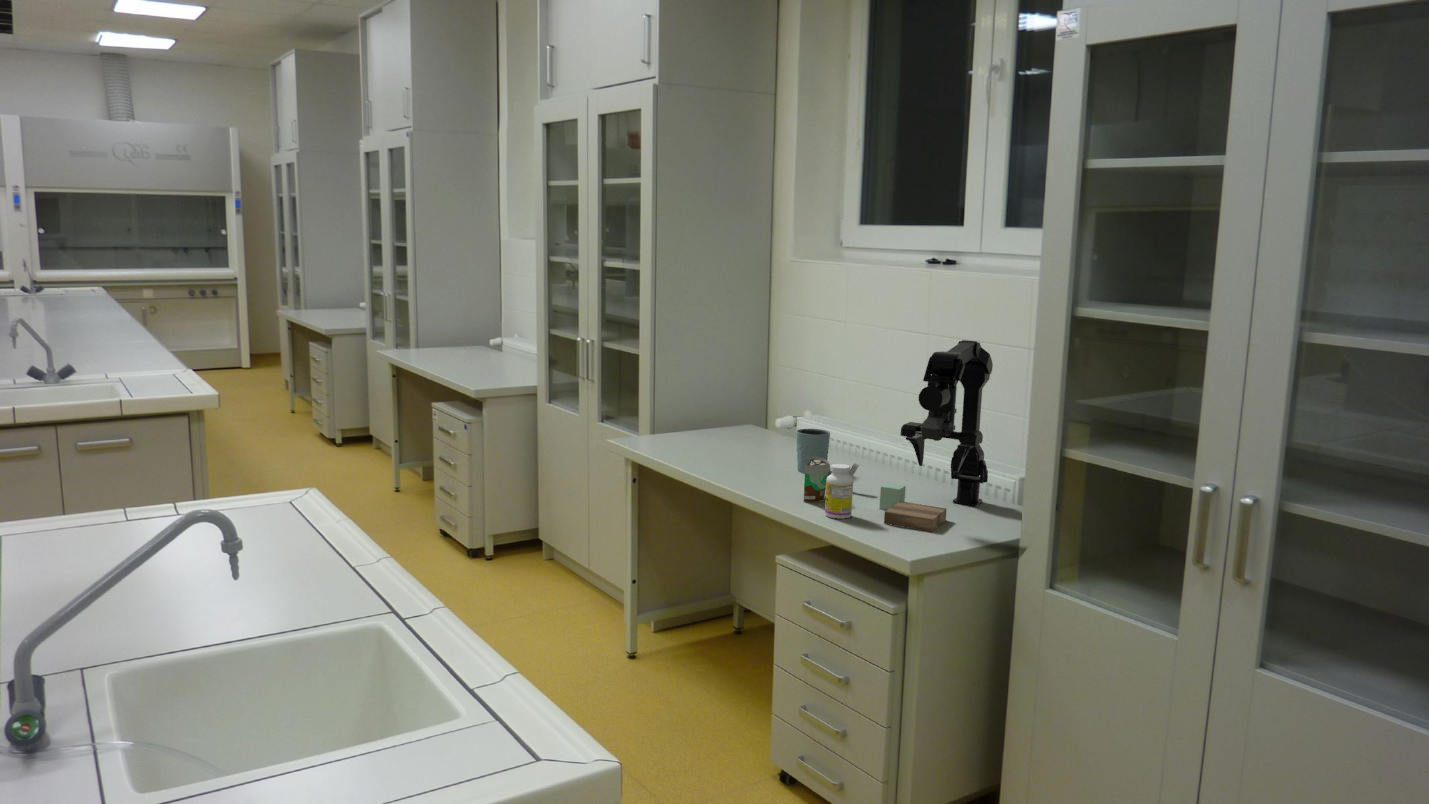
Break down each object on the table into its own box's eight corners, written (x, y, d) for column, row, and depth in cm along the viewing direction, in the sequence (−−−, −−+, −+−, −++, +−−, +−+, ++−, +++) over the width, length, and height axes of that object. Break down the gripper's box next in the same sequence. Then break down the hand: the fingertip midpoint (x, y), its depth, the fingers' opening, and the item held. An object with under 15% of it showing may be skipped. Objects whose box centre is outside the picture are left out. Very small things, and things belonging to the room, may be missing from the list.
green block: (885, 505, 265) (887, 482, 264) (904, 508, 263) (905, 485, 262) (879, 509, 261) (880, 486, 260) (898, 512, 259) (899, 489, 258)
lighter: (830, 490, 279) (832, 461, 278) (832, 488, 280) (833, 460, 279) (856, 493, 276) (857, 464, 275) (857, 491, 278) (859, 463, 277)
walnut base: (899, 512, 258) (900, 501, 257) (945, 520, 252) (946, 508, 252) (883, 523, 247) (884, 511, 247) (931, 531, 242) (932, 519, 241)
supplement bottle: (827, 511, 257) (829, 461, 255) (853, 514, 255) (856, 464, 253) (822, 517, 251) (825, 467, 249) (848, 520, 249) (851, 469, 247)
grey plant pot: (811, 476, 294) (813, 435, 292) (787, 469, 302) (788, 430, 300) (835, 471, 301) (837, 432, 299) (810, 465, 308) (812, 426, 306)
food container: (826, 505, 263) (828, 467, 261) (803, 503, 264) (804, 465, 262) (830, 493, 275) (832, 457, 273) (808, 491, 276) (810, 456, 274)
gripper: (893, 404, 240) (889, 468, 243) (970, 414, 230) (965, 481, 233) (911, 399, 249) (907, 460, 252) (985, 407, 240) (980, 472, 242)
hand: (938, 468), depth 245 cm, fingers open, 9 cm apart
